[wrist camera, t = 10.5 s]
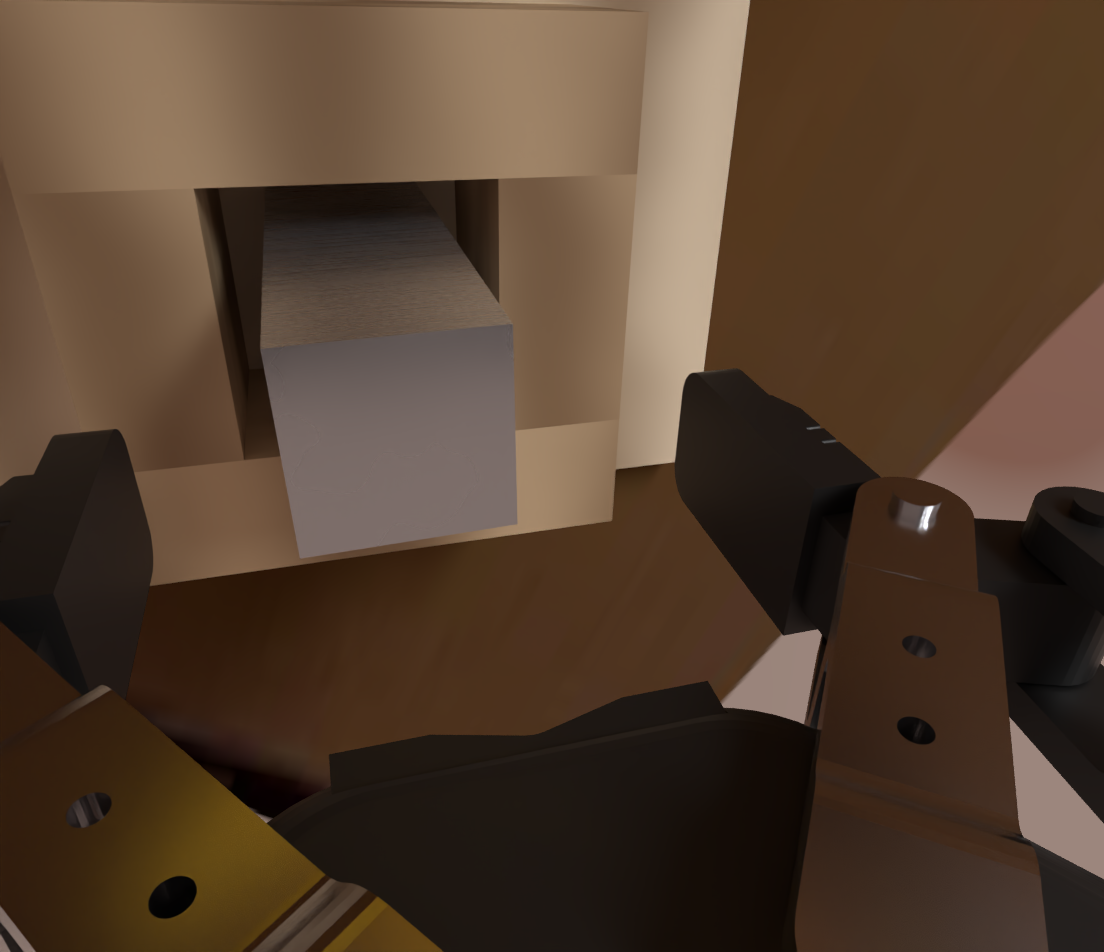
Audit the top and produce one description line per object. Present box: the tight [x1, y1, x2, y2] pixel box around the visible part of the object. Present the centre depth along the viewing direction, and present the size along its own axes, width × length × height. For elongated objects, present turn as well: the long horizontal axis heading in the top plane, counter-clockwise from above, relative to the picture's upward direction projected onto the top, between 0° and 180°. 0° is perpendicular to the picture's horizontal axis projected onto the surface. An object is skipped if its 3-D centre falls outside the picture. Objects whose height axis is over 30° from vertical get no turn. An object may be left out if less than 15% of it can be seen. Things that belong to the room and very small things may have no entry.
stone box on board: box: [0, 0, 750, 586], centre depth 19 cm, size 20×14×6 cm
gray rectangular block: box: [260, 181, 518, 559], centre depth 16 cm, size 3×3×10 cm
